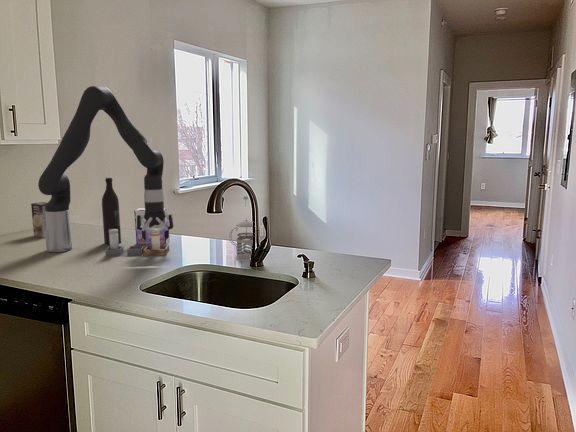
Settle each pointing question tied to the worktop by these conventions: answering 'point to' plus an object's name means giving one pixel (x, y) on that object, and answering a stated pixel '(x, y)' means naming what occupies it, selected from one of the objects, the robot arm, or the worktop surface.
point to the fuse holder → (130, 251)
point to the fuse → (113, 239)
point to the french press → (244, 254)
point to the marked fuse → (155, 239)
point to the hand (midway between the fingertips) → (155, 239)
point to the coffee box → (39, 219)
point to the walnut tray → (149, 252)
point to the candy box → (148, 230)
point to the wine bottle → (110, 212)
